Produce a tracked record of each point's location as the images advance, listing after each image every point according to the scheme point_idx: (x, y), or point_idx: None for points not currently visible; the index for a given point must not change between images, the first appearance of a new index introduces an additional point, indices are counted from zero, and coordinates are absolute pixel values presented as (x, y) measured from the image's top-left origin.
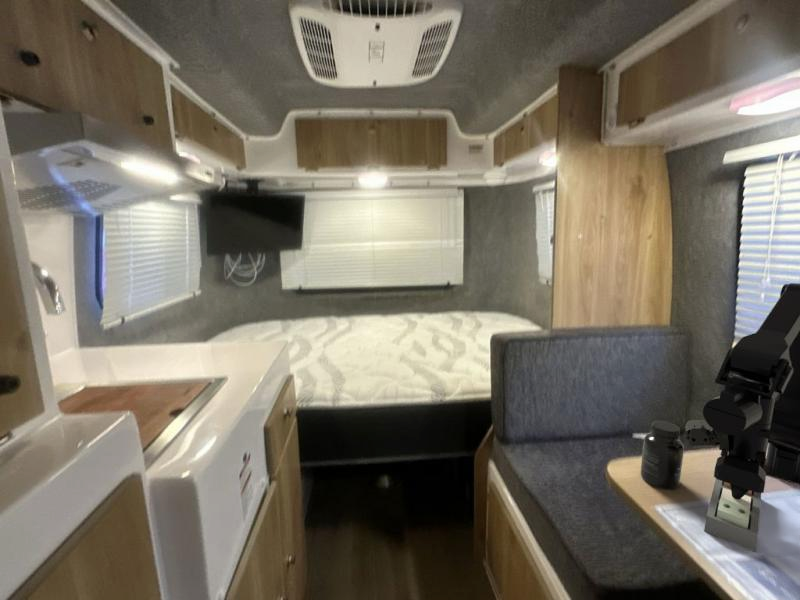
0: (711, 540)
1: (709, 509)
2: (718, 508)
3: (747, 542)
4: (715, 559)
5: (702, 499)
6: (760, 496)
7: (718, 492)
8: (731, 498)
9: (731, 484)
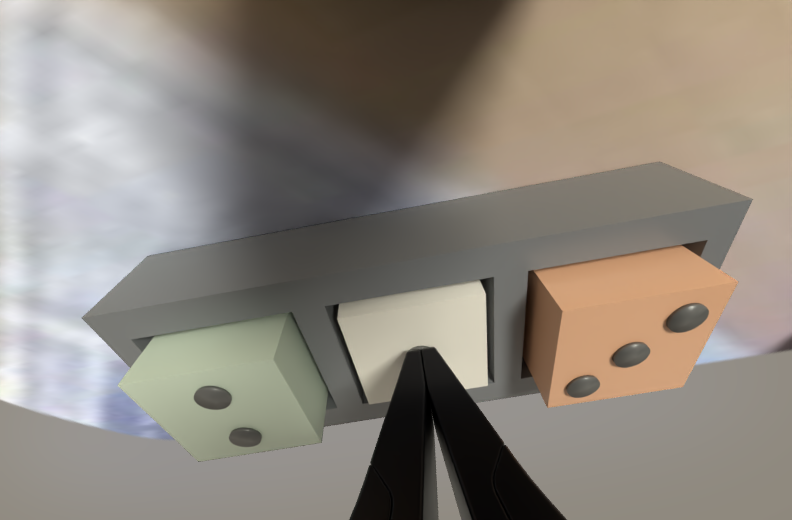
0: None
1: (163, 310)
2: (132, 385)
3: None
4: (32, 328)
5: (421, 163)
6: (536, 392)
7: (416, 284)
8: (394, 346)
9: (378, 447)
